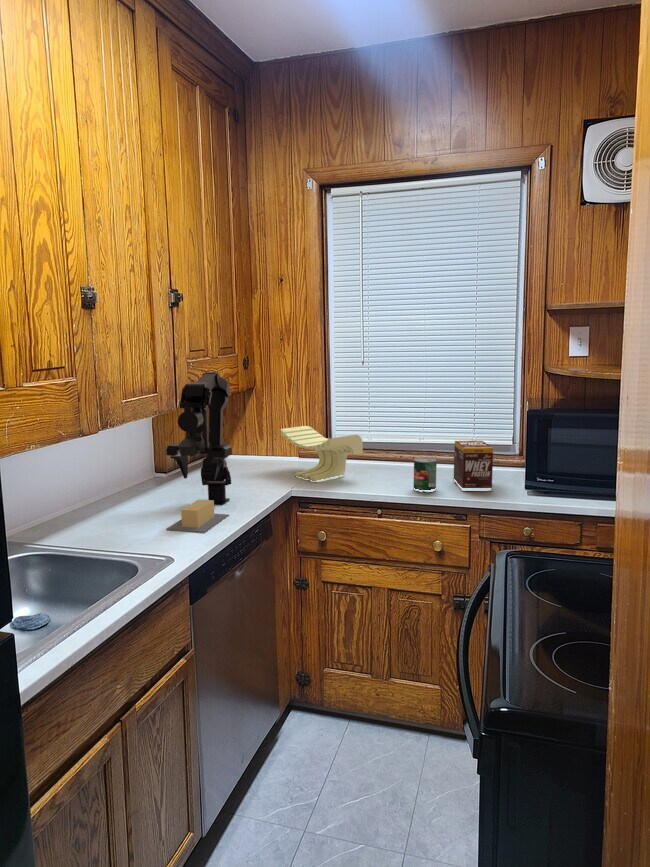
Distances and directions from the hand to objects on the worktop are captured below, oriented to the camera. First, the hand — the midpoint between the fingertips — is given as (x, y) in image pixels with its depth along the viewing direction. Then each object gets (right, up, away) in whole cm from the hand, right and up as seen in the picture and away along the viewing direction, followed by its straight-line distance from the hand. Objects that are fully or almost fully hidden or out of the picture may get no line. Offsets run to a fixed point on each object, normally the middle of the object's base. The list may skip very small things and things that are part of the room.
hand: (199, 479), depth 185 cm
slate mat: (0, -13, 0) cm, 13 cm away
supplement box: (+90, -6, +40) cm, 99 cm away
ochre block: (+1, -9, +5) cm, 11 cm away
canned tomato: (+72, -7, +36) cm, 81 cm away
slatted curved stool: (+35, -4, +57) cm, 67 cm away
